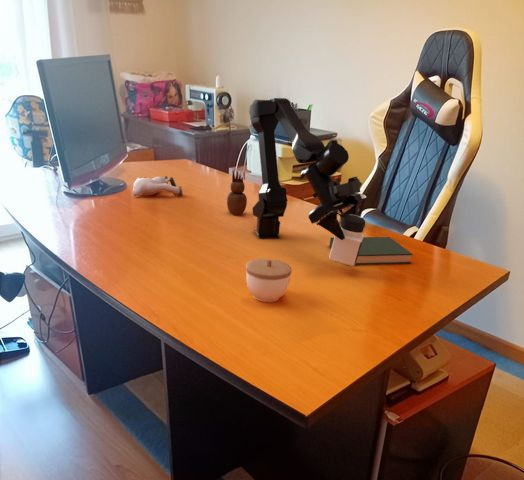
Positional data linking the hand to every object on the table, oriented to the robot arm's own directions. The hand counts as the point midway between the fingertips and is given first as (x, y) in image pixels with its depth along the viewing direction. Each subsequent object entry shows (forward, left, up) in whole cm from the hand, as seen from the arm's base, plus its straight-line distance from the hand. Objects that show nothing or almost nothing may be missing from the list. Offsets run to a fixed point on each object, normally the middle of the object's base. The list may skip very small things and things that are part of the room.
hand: (351, 235), depth 138 cm
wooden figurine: (-19, +55, -11) cm, 59 cm away
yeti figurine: (-46, +82, -11) cm, 94 cm away
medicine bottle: (-1, +1, -7) cm, 7 cm away
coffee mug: (+18, +44, -11) cm, 48 cm away
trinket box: (-26, -13, -11) cm, 31 cm away
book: (+13, +13, -10) cm, 21 cm away
